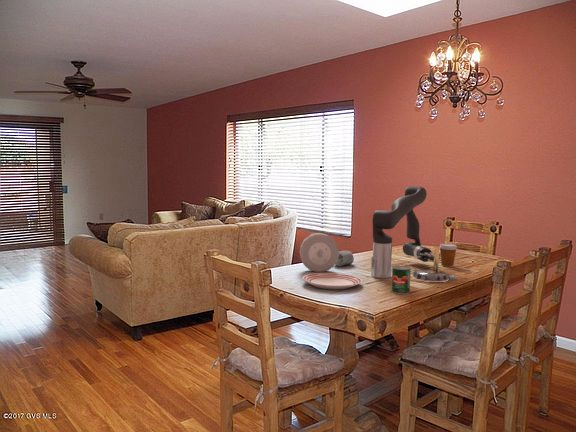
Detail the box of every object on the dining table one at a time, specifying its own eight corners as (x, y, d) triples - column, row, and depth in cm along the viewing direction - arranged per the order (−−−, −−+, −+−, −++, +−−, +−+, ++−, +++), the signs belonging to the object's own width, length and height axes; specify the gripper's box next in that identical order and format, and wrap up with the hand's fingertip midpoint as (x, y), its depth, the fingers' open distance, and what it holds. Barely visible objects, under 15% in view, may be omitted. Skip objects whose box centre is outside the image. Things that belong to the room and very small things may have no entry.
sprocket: (440, 282, 217) (441, 253, 216) (407, 277, 228) (408, 249, 227) (453, 276, 230) (455, 249, 228) (421, 271, 241) (422, 245, 239)
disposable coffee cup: (444, 267, 256) (445, 246, 254) (435, 264, 265) (435, 243, 264) (459, 267, 258) (460, 245, 257) (449, 263, 267) (450, 243, 266)
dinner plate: (324, 275, 234) (324, 269, 234) (372, 284, 217) (372, 277, 217) (290, 285, 213) (290, 278, 213) (340, 296, 196) (341, 288, 195)
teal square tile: (450, 279, 228) (450, 277, 228) (447, 278, 231) (447, 275, 231) (456, 279, 228) (456, 276, 228) (453, 277, 231) (453, 275, 231)
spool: (342, 262, 250) (339, 245, 254) (330, 268, 256) (327, 251, 260) (359, 266, 258) (356, 249, 262) (347, 271, 265) (344, 254, 269)
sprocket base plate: (419, 283, 220) (420, 281, 220) (407, 275, 237) (407, 273, 237) (454, 282, 221) (454, 281, 221) (440, 274, 238) (440, 273, 238)
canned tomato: (406, 289, 207) (407, 265, 206) (412, 294, 199) (413, 269, 198) (389, 289, 207) (390, 265, 206) (393, 294, 199) (394, 269, 198)
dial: (300, 273, 236) (300, 235, 234) (298, 269, 248) (299, 232, 246) (340, 274, 237) (340, 235, 235) (336, 269, 249) (337, 232, 247)
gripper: (411, 246, 250) (422, 252, 233) (434, 246, 251) (448, 252, 234) (410, 260, 251) (422, 267, 234) (434, 260, 252) (447, 266, 235)
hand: (435, 259), depth 234 cm, fingers closed
